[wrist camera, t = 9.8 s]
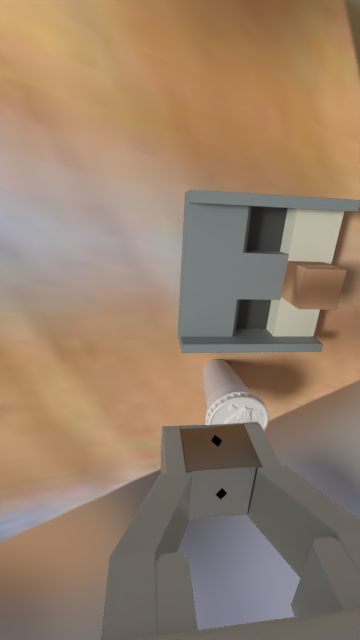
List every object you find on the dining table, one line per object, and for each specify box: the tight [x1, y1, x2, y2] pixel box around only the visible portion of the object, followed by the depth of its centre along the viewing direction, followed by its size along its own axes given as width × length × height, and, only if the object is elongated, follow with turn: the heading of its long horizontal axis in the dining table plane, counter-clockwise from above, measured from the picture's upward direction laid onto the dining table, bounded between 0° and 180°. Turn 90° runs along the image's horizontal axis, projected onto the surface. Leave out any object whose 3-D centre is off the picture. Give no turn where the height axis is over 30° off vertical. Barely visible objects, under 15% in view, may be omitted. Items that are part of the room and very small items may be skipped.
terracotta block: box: [281, 261, 347, 310], centre depth 29 cm, size 4×4×4 cm
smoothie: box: [203, 359, 269, 431], centre depth 31 cm, size 6×6×14 cm
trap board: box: [178, 190, 360, 353], centre depth 31 cm, size 16×16×4 cm
